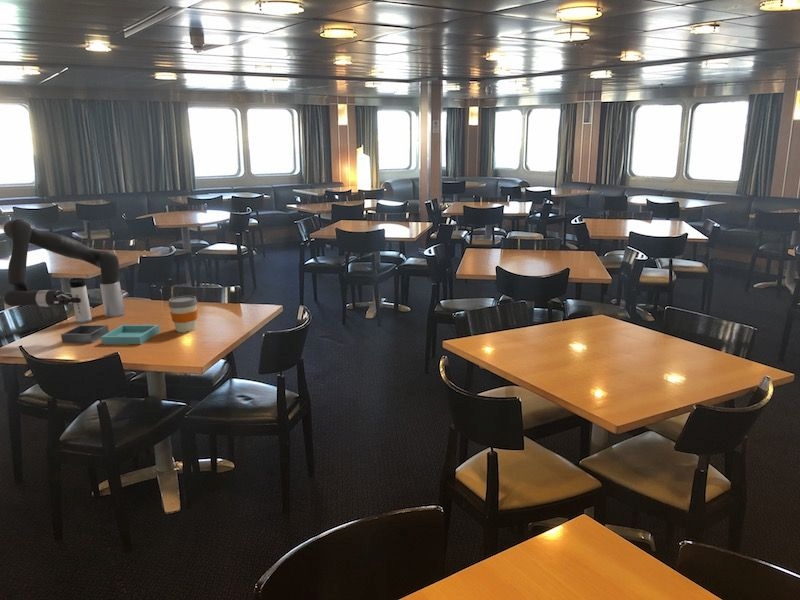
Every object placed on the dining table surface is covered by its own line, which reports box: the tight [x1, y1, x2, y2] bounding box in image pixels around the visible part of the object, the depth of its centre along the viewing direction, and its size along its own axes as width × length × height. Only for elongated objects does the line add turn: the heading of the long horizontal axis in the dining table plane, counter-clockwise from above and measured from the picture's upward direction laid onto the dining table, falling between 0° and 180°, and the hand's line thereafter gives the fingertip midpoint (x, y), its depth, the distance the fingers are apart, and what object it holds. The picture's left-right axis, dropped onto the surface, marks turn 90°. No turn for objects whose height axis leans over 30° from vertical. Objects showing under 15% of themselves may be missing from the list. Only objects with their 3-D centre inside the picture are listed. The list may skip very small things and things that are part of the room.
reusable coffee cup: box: [168, 295, 198, 333], centre depth 290 cm, size 13×12×15 cm
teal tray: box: [100, 324, 161, 346], centre depth 281 cm, size 18×18×4 cm
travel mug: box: [68, 277, 93, 324], centre depth 279 cm, size 6×7×20 cm
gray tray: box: [60, 324, 110, 344], centre depth 283 cm, size 14×14×4 cm
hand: (84, 298), depth 278 cm, fingers closed on travel mug, 6 cm apart
